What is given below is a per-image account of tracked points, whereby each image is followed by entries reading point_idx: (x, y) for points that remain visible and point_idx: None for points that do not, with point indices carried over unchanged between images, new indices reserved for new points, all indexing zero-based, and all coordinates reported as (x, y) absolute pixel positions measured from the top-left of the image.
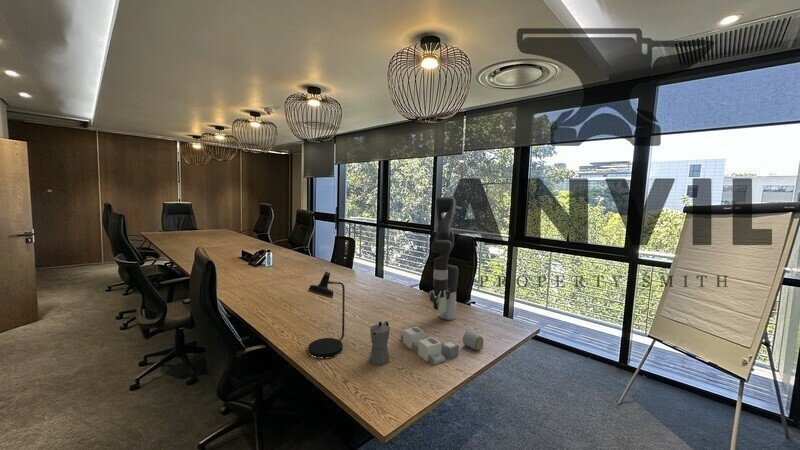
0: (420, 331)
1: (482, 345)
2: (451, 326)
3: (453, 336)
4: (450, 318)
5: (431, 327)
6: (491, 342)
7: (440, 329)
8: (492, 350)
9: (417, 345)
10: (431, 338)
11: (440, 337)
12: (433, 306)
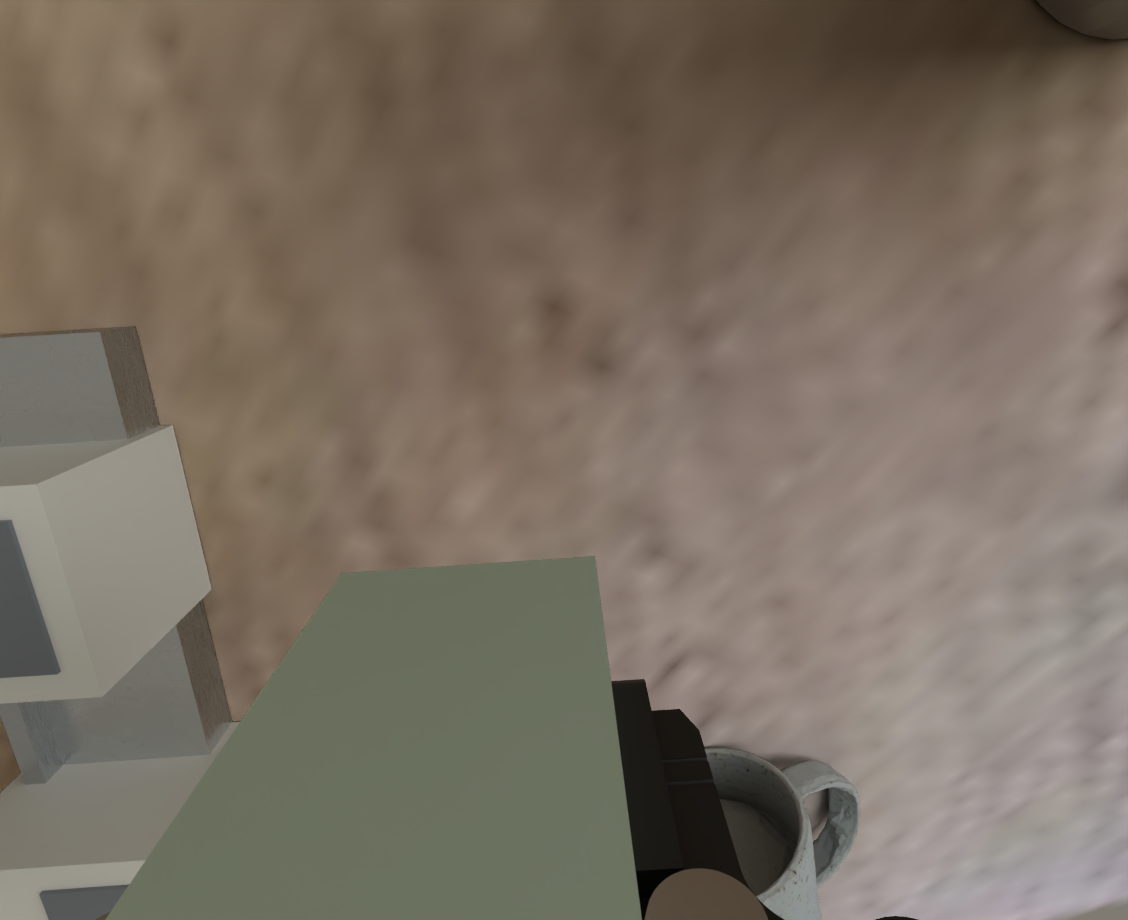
0: (34, 674)
1: (814, 843)
2: (899, 272)
3: (694, 546)
4: (1105, 26)
5: (589, 164)
6: (966, 807)
7: (675, 292)
8: (832, 914)
9: (23, 723)
10: (116, 897)
11: (520, 503)
12: (301, 637)
